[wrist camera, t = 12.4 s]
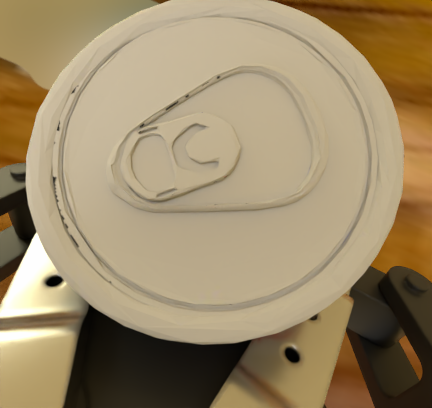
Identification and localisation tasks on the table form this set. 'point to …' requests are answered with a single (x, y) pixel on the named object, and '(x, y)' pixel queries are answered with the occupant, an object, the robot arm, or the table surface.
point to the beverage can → (215, 170)
